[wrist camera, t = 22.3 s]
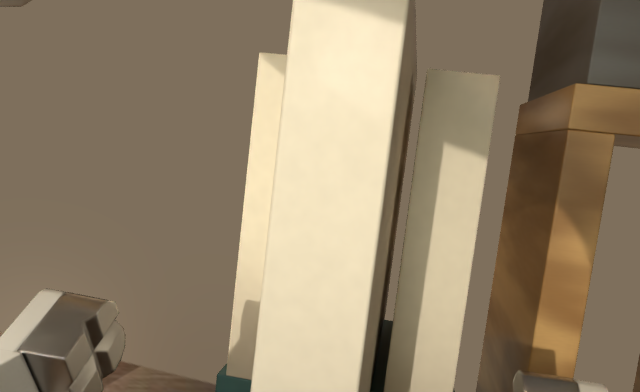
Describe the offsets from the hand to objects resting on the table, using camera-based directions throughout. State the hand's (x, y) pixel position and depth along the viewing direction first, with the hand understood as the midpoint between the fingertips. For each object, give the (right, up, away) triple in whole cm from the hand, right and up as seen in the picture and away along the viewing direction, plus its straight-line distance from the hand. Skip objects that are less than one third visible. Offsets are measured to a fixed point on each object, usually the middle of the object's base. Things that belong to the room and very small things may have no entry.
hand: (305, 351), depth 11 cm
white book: (+1, -4, +11) cm, 12 cm away
